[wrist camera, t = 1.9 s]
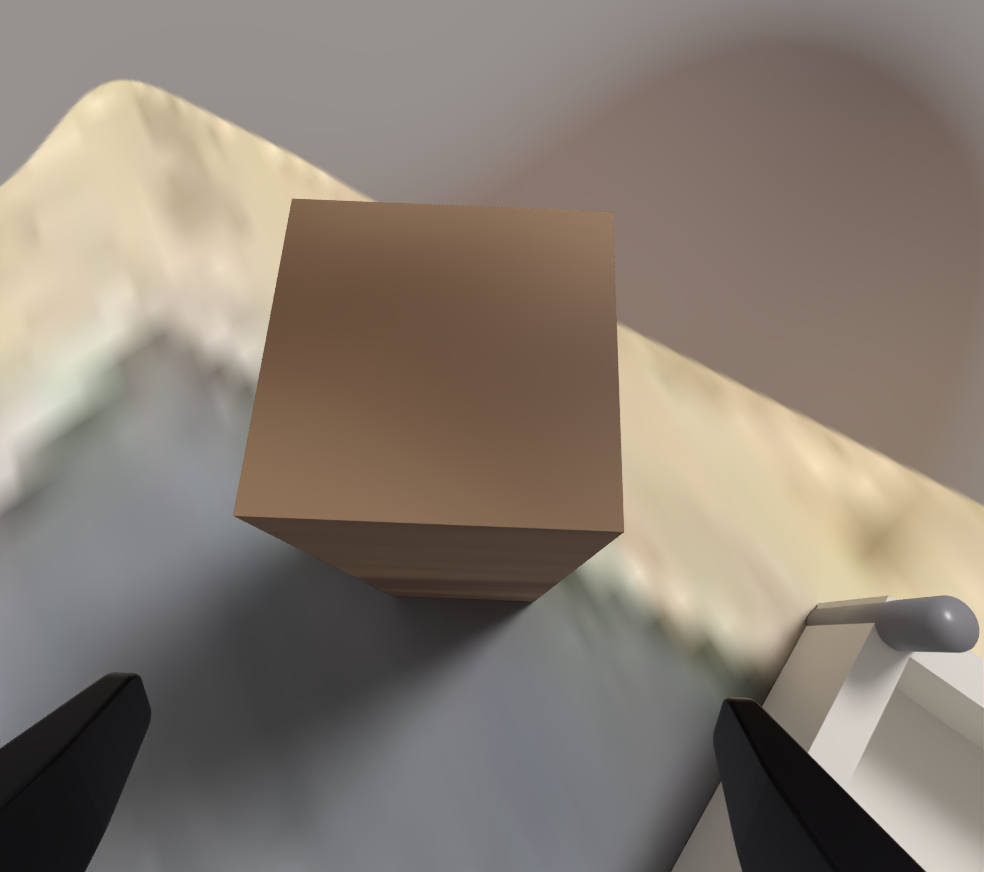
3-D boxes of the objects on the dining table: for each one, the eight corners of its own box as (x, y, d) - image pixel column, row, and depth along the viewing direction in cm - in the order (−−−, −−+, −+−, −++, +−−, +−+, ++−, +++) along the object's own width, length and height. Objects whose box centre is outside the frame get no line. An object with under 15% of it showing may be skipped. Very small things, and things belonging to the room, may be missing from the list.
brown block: (533, 601, 21) (624, 532, 8) (392, 595, 21) (232, 515, 8) (536, 465, 22) (612, 212, 9) (405, 459, 22) (292, 198, 9)
